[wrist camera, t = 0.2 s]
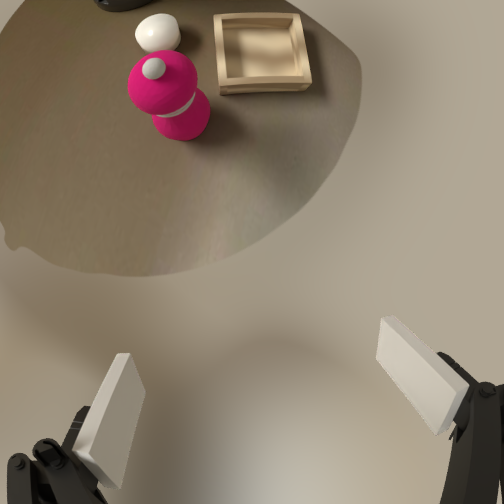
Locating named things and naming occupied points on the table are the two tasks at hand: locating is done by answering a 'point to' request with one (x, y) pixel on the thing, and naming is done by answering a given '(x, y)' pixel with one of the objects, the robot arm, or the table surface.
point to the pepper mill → (170, 94)
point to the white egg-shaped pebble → (158, 33)
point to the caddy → (261, 53)
